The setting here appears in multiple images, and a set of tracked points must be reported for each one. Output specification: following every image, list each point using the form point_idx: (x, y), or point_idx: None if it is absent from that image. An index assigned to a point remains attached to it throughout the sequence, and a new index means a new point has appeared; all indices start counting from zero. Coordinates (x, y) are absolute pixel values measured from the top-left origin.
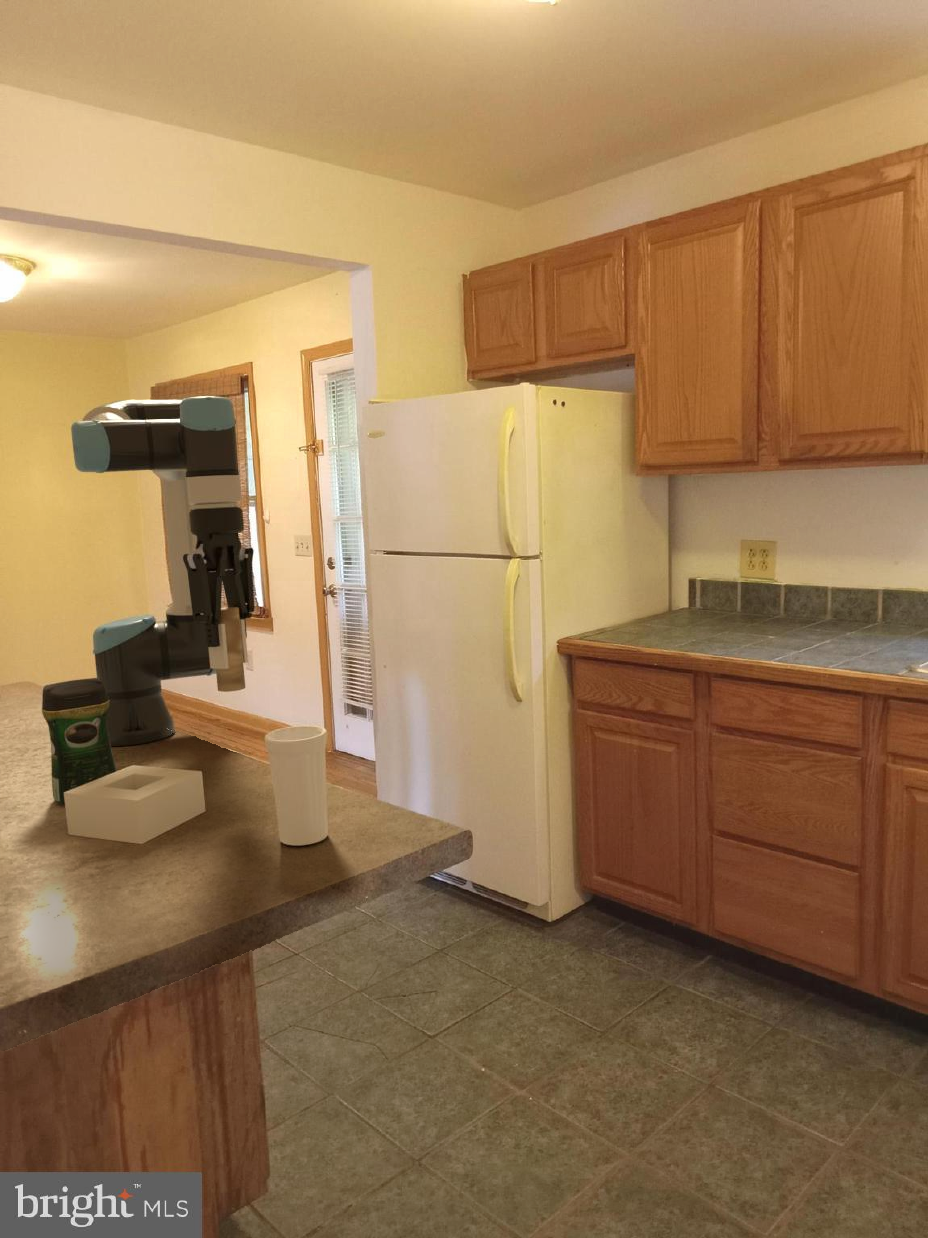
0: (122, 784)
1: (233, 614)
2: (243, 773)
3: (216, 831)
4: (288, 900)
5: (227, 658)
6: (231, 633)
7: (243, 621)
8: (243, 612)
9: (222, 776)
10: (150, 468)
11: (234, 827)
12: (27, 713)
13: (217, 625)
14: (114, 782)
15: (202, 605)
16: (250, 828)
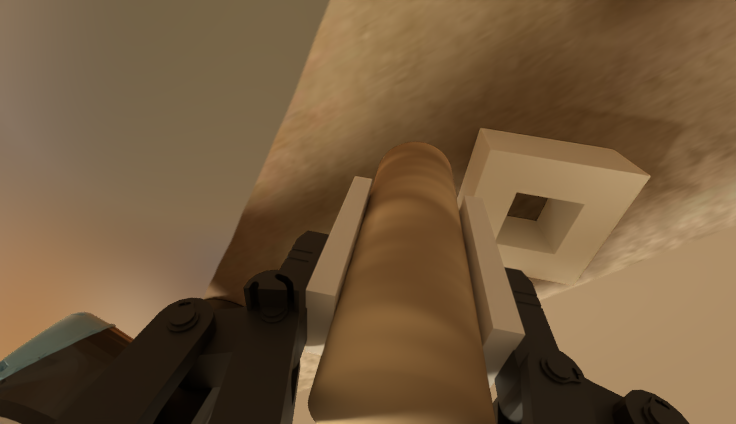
0: (514, 242)
1: (443, 345)
2: (314, 154)
3: (576, 62)
4: None
5: (471, 213)
6: (454, 266)
7: (320, 282)
8: (284, 326)
9: (332, 177)
10: None
11: (562, 39)
12: None
13: (518, 347)
14: (530, 249)
15: None
16: (572, 4)
